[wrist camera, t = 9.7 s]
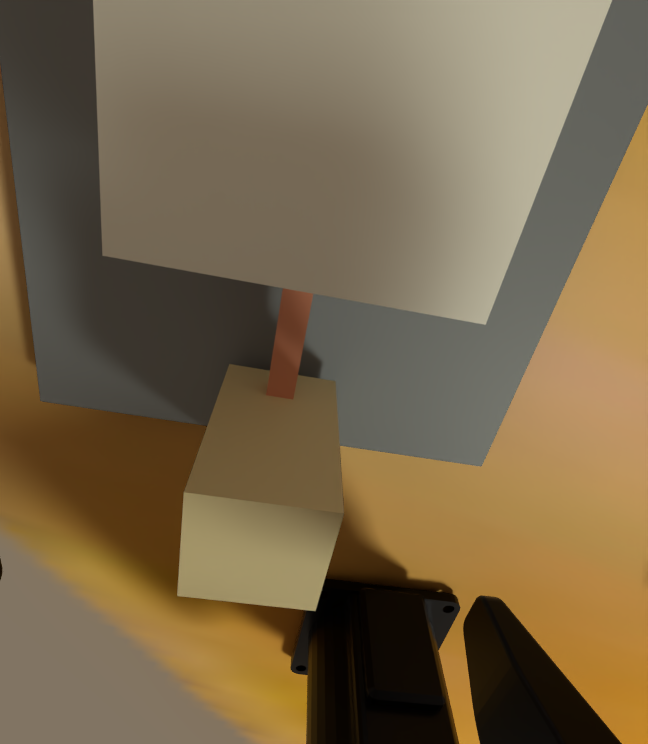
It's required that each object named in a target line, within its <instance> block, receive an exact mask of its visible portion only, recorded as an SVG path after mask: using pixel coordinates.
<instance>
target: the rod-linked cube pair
mask: <svg viewBox="0 0 648 744" xmlns="http://www.w3.org/2000/svg"><path fill="white" fill-rule="evenodd" d="M611 2H612V0H93V14H94V41H95V68H96V95H97V122H98V149H99V176H100V203H101V230H102V256H107V257H113V258H118V259H124V260H129V261H135V262H141V263H146V264H152V265H157V266H163V267H168V268H174V269H179V270H185V271H190V272H196V273H201V274H207V275H213V276H218V277H224V278H229V279H235V280H240V281H246V282H251V283H257V284H262V285H268V286H273V287H279V288H283V290H282V297H281V303H280V309H279V316H278V322H277V329H276V335H275V341H274V348H273V354H272V361H271V367H270V370H263V369H257V368H251V367H245V366H239V365H233V364H229V367H228V369H227V372H226V375H225V378H224V381H223V383H222V386H221V389H220V392H219V395H218V397H217V400H216V403H215V406H214V409H213V411H212V414H211V417H210V420H209V423H208V426H207V428H206V431H205V434H204V437H203V440H202V442H201V445H200V448H199V451H198V454H197V456H196V459H195V462H194V465H193V468H192V470H191V473H190V476H189V479H188V482H187V485H186V487H185V490H184V496H183V512H182V528H181V544H180V559H179V575H178V591H177V596H182V597H192V598H201V599H210V600H219V601H228V602H237V603H246V604H255V605H264V606H273V607H282V608H291V609H300V610H310V611H316V608H317V604H318V601H319V597H320V594H321V591H322V587H323V584H324V580H325V577H326V574H327V570H328V567H329V563H330V560H331V557H332V553H333V550H334V546H335V543H336V539H337V536H338V533H339V529H340V526H341V522H342V519H343V516H344V504H343V489H342V473H341V458H340V443H339V428H338V412H337V397H336V382H335V381H331V380H325V379H319V378H313V377H307V376H300V375H298V372H299V367H300V361H301V356H302V351H303V345H304V340H305V335H306V330H307V324H308V319H309V314H310V309H311V303H312V298H313V294H318V295H323V296H329V297H334V298H340V299H345V300H351V301H357V302H362V303H368V304H373V305H379V306H384V307H390V308H395V309H401V310H406V311H412V312H417V313H423V314H429V315H434V316H440V317H445V318H451V319H456V320H462V321H467V322H473V323H478V324H484V325H486V322H487V320H488V317H489V315H490V312H491V310H492V307H493V304H494V302H495V299H496V297H497V294H498V292H499V289H500V287H501V284H502V281H503V279H504V276H505V274H506V271H507V269H508V266H509V263H510V261H511V258H512V256H513V253H514V251H515V248H516V246H517V243H518V240H519V238H520V235H521V233H522V230H523V228H524V225H525V222H526V220H527V217H528V215H529V212H530V210H531V207H532V205H533V202H534V199H535V197H536V194H537V192H538V189H539V187H540V184H541V181H542V179H543V176H544V174H545V171H546V169H547V166H548V163H549V161H550V158H551V156H552V153H553V151H554V148H555V146H556V143H557V140H558V138H559V135H560V133H561V130H562V128H563V125H564V122H565V120H566V117H567V115H568V112H569V110H570V107H571V105H572V102H573V99H574V97H575V94H576V92H577V89H578V87H579V84H580V81H581V79H582V76H583V74H584V71H585V69H586V66H587V64H588V61H589V58H590V56H591V53H592V51H593V48H594V46H595V43H596V40H597V38H598V35H599V33H600V30H601V28H602V25H603V23H604V20H605V17H606V15H607V12H608V10H609V7H610V5H611Z"/></svg>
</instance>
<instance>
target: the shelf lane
mask: <svg viewBox="0 0 648 744" xmlns="http://www.w3.org/2000/svg"><path fill="white" fill-rule="evenodd" d="M0 65H1V73H2V81H3V90H4V98H5V107H6V115H7V123H8V132H9V140H10V149H11V157H12V165H13V174H14V182H15V191H16V199H17V208H18V216H19V224H20V233H21V241H22V250H23V258H24V266H25V275H26V283H27V292H28V300H29V308H30V317H31V325H32V334H33V342H34V351H35V359H36V367H37V376H38V384H39V393H40V401H43V402H50V403H56V404H63V405H70V406H77V407H83V408H90V409H97V410H104V411H110V412H117V413H124V414H131V415H137V416H144V417H151V418H157V419H164V420H171V421H178V422H184V423H191V424H198V425H205V426H208V423H209V420H210V417H211V414H212V411H213V409H214V406H215V403H216V400H217V397H218V395H219V392H220V389H221V386H222V383H223V381H224V378H225V375H226V372H227V369H228V367H229V364H233V365H239V366H245V367H251V368H257V369H263V370H270V367H271V361H272V354H273V348H274V341H275V335H276V329H277V322H278V316H279V309H280V303H281V297H282V290H283V288H279V287H273V286H268V285H262V284H257V283H251V282H246V281H240V280H235V279H229V278H224V277H218V276H213V275H207V274H201V273H196V272H190V271H185V270H179V269H174V268H168V267H163V266H157V265H152V264H146V263H141V262H135V261H129V260H124V259H118V258H113V257H107V256H102V230H101V203H100V176H99V149H98V122H97V95H96V68H95V41H94V14H93V0H0ZM647 105H648V0H612V2H611V5H610V7H609V10H608V12H607V15H606V17H605V20H604V23H603V25H602V28H601V30H600V33H599V35H598V38H597V40H596V43H595V46H594V48H593V51H592V53H591V56H590V58H589V61H588V64H587V66H586V69H585V71H584V74H583V76H582V79H581V81H580V84H579V87H578V89H577V92H576V94H575V97H574V99H573V102H572V105H571V107H570V110H569V112H568V115H567V117H566V120H565V122H564V125H563V128H562V130H561V133H560V135H559V138H558V140H557V143H556V146H555V148H554V151H553V153H552V156H551V158H550V161H549V163H548V166H547V169H546V171H545V174H544V176H543V179H542V181H541V184H540V187H539V189H538V192H537V194H536V197H535V199H534V202H533V205H532V207H531V210H530V212H529V215H528V217H527V220H526V222H525V225H524V228H523V230H522V233H521V235H520V238H519V240H518V243H517V246H516V248H515V251H514V253H513V256H512V258H511V261H510V263H509V266H508V269H507V271H506V274H505V276H504V279H503V281H502V284H501V287H500V289H499V292H498V294H497V297H496V299H495V302H494V304H493V307H492V310H491V312H490V315H489V317H488V320H487V322H486V325H484V324H478V323H473V322H467V321H462V320H456V319H451V318H445V317H440V316H434V315H429V314H423V313H417V312H412V311H406V310H401V309H395V308H390V307H384V306H379V305H373V304H368V303H362V302H357V301H351V300H345V299H340V298H334V297H329V296H323V295H318V294H313V298H312V303H311V309H310V314H309V319H308V324H307V330H306V335H305V340H304V345H303V351H302V356H301V361H300V367H299V372H298V375H300V376H307V377H313V378H319V379H325V380H331V381H335V382H336V397H337V412H338V428H339V443H340V446H346V447H353V448H360V449H367V450H373V451H380V452H387V453H394V454H400V455H407V456H414V457H421V458H427V459H434V460H441V461H448V462H454V463H461V464H468V465H475V466H482V464H483V462H484V460H485V458H486V455H487V453H488V451H489V449H490V447H491V445H492V442H493V440H494V438H495V436H496V434H497V431H498V429H499V427H500V425H501V423H502V421H503V418H504V416H505V414H506V412H507V410H508V408H509V405H510V403H511V401H512V399H513V397H514V394H515V392H516V390H517V388H518V386H519V384H520V381H521V379H522V377H523V375H524V373H525V370H526V368H527V366H528V364H529V362H530V360H531V357H532V355H533V353H534V351H535V349H536V347H537V344H538V342H539V340H540V338H541V336H542V333H543V331H544V329H545V327H546V325H547V323H548V320H549V318H550V316H551V314H552V312H553V309H554V307H555V305H556V303H557V301H558V299H559V296H560V294H561V292H562V290H563V288H564V286H565V283H566V281H567V279H568V277H569V275H570V272H571V270H572V268H573V266H574V264H575V262H576V259H577V257H578V255H579V253H580V251H581V248H582V246H583V244H584V242H585V240H586V238H587V235H588V233H589V231H590V229H591V227H592V224H593V222H594V220H595V218H596V216H597V214H598V211H599V209H600V207H601V205H602V203H603V201H604V198H605V196H606V194H607V192H608V190H609V187H610V185H611V183H612V181H613V179H614V177H615V174H616V172H617V170H618V168H619V166H620V163H621V161H622V159H623V157H624V155H625V153H626V150H627V148H628V146H629V144H630V142H631V140H632V137H633V135H634V133H635V131H636V129H637V126H638V124H639V122H640V120H641V118H642V116H643V113H644V111H645V109H646V107H647Z"/></svg>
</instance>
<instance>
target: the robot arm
mask: <svg viewBox="0 0 648 744" xmlns="http://www.w3.org/2000/svg"><path fill="white" fill-rule="evenodd" d="M1 576H2V564H1V559H0V579H1ZM459 611H460V605H459V602H458V599H457V597H456V596H455V595H453V594H449V593H441V592H432V591H424V590H415V589H407V588H398V587H390V586H381V585H373V584H364V583H356V582H347V581H339V580H331V579H325V580H324V584H323V587H322V591H321V594H320V597H319V601H318V604H317V608H316V611H310V610H304V614H303V618H302V621H301V625H300V628H299V632H298V636H297V639H296V643H295V647H294V650H293V654H292V657H291V670H292V672H294V673H296V674H303V675H308V680H307V733H306V744H459V741H458V736H457V732H456V727H455V723H454V719H453V714H452V710H451V705H450V701H449V696H448V692H447V687H446V683H445V678H444V674H443V670H442V665H441V661H440V656H439V652H438V650H439V648H440V646H441V644H442V643H443V641H444V639H445V637H446V635H447V633H448V631H449V629H450V628H451V626H452V624H453V622H454V620H455V618H456V616H457V614H458V613H459ZM463 632H464V641H465V648H466V656H467V664H468V672H469V679H470V687H471V695H472V703H473V709H474V716H475V721H476V726H477V731H478V736H479V740H480V744H622V743H621V742H620V741H619V740H618V739H617V737H616V736H615V735H614V734H613V733H612V731H611V730H610V729H609V728H608V727H607V725H606V724H605V723H604V722H603V721H602V719H601V718H600V717H599V716H598V715H597V713H596V712H595V711H594V710H593V709H592V707H591V706H590V705H589V704H588V703H587V701H586V700H585V699H584V698H583V697H582V696H581V694H580V693H579V692H578V691H577V690H576V688H575V687H574V686H573V685H572V684H571V682H570V681H569V680H568V679H567V678H566V676H565V675H564V674H563V673H562V672H561V670H560V669H559V668H558V667H557V666H556V664H555V663H554V662H553V661H552V660H551V658H550V657H549V656H548V655H547V654H546V652H545V651H544V650H543V649H542V648H541V646H540V645H539V644H538V643H537V642H536V640H535V639H534V638H533V637H532V636H531V634H530V633H529V632H528V631H527V630H526V628H525V627H524V626H523V625H522V624H521V622H520V621H519V620H518V619H517V618H516V616H515V615H514V614H513V613H512V612H511V610H510V609H509V608H508V607H507V606H506V604H505V603H504V602H503V601H502V600H501V599H499V598H497V597H490V596H479V597H477V598H476V600H475V602H474V604H473V605H472V607H471V609H470V611H469V613H468V614H467V616H466V618H465V621H464V626H463Z"/></svg>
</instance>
